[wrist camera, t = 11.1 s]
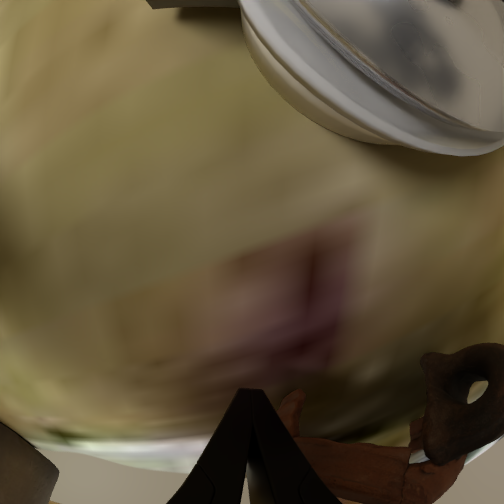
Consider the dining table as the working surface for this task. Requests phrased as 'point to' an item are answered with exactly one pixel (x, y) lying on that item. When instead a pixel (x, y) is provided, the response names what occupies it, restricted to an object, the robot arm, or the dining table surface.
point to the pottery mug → (415, 434)
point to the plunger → (423, 52)
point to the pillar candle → (24, 471)
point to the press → (337, 84)
